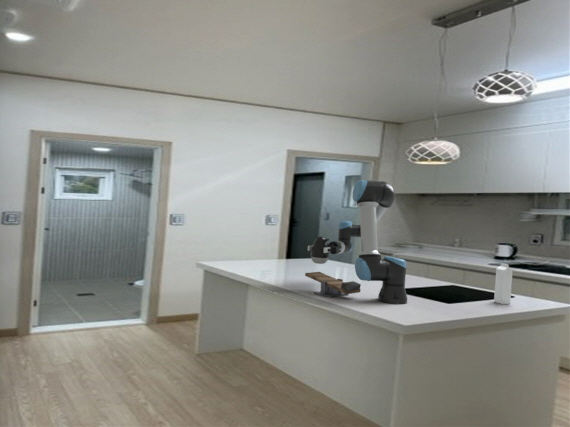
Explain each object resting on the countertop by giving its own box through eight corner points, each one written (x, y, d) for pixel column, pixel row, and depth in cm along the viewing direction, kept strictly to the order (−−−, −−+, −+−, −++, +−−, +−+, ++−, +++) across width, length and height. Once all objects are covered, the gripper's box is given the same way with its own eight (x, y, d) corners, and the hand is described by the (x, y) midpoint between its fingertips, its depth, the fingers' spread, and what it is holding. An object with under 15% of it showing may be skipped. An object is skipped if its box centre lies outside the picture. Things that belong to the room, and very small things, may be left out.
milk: (501, 304, 262) (504, 264, 261) (493, 301, 267) (496, 262, 267) (510, 304, 263) (513, 264, 263) (502, 301, 269) (505, 262, 269)
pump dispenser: (322, 265, 260) (324, 237, 259) (306, 262, 266) (308, 235, 265) (332, 263, 268) (333, 236, 267) (316, 261, 274) (318, 235, 274)
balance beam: (360, 292, 253) (361, 284, 253) (346, 294, 245) (348, 286, 244) (319, 274, 274) (320, 266, 274) (304, 275, 266) (306, 267, 265)
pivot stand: (348, 295, 261) (349, 280, 261) (330, 298, 250) (331, 282, 250) (331, 291, 269) (332, 277, 269) (313, 293, 259) (314, 279, 258)
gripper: (352, 256, 275) (333, 258, 257) (319, 251, 288) (299, 253, 270) (353, 243, 275) (334, 244, 256) (320, 239, 288) (299, 240, 269)
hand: (316, 249), depth 263 cm, fingers closed on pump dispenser, 10 cm apart
